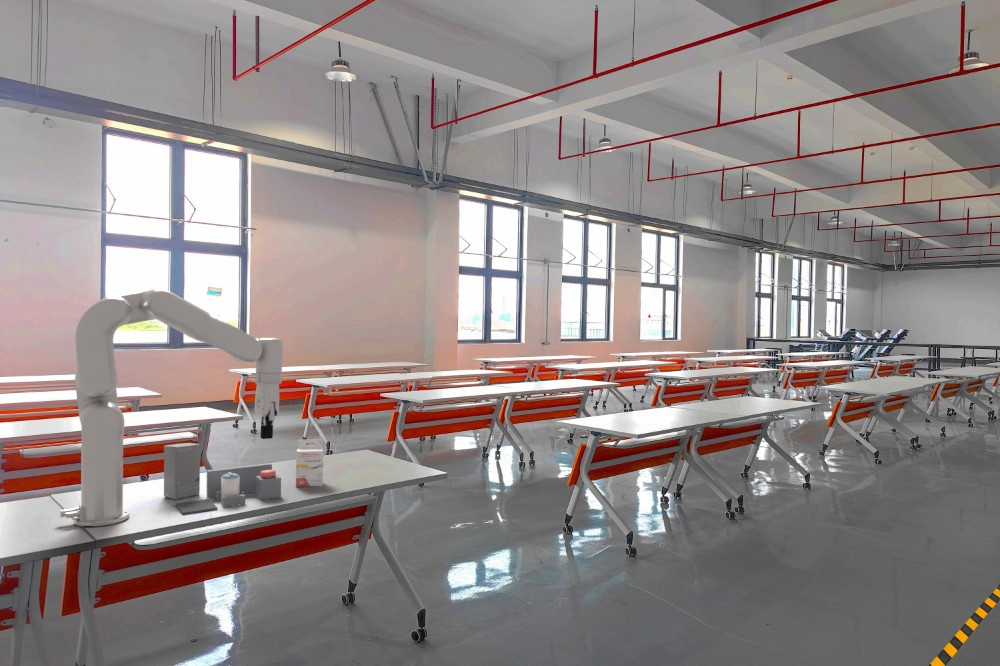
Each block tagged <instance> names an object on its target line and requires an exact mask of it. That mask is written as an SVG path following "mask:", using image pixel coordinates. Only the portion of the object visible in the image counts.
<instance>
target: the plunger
mask: <svg viewBox="0 0 1000 666" xmlns="http://www.w3.org/2000/svg"><path fill="white" fill-rule="evenodd" d="M276 472H277V471H276V470H274V469H272V470H264V471H261V478H263V479H267V478H273V477H275V476H276V475H277V473H276Z"/></svg>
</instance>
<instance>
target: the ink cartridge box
mask: <svg viewBox="0 0 1000 666" xmlns="http://www.w3.org/2000/svg"><path fill="white" fill-rule="evenodd" d="M309 443H312V444H309ZM323 443H324V440H323V439H321V438H316V439H307V438H306V439H297V449H296V458H295V459H296V461H295V463H296V464H295V465H296V466H295V468H296V469H295V471H296V472H295V487H296V488H298V487H299V488H301V487H302V486H306V487H323V483H324V482H323V481H324V448H323V447H324V444H323Z"/></svg>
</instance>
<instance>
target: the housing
mask: <svg viewBox="0 0 1000 666" xmlns="http://www.w3.org/2000/svg"><path fill="white" fill-rule="evenodd" d="M264 470H273V464H272V463H271V462H269V463H260V464H259V463H257V464H251V465H243V466H242V465H240V466H234V467H225V468H216V469H207V470H206V498H207V499H210V497H211V498H215V500H216V501H217V502H218V501H220V502H221V477H222V475H224V474H228V472H231V473H236V474H238V476H239V493H240V494H239V495H234V496H227V497H222V503H221V506H222V508H228V507H227V506H230V507H233V506H232V505H236V506H239V505H238V504H243V505H246V495H245V493H242V492H247V493H252V492H251V491H255V493H254V495H256V496H257V497H256V496H255V497H256V498H258V499H259V500H260V499H261V500H260V501H263V499H265V500H271V499H270V498H272V499H278V498H281V497H282V477H281V476H279V475H278V474H276V476H275V477H273V478H267V479H263V478H261V471H264ZM277 497H278V498H277Z"/></svg>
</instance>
